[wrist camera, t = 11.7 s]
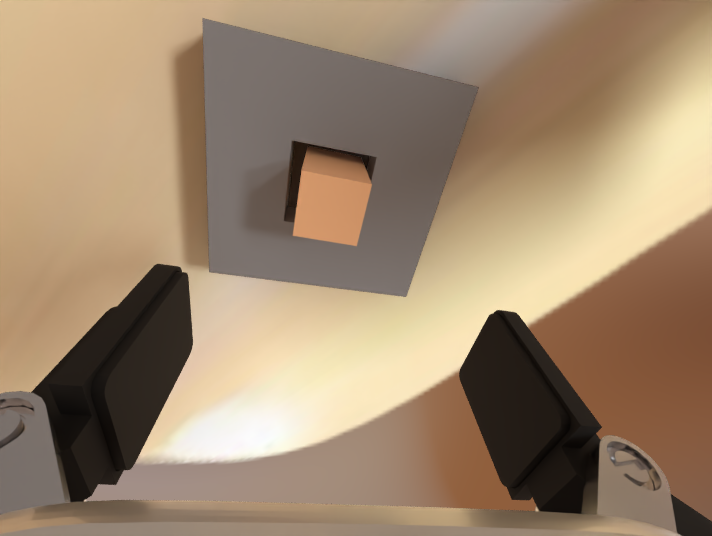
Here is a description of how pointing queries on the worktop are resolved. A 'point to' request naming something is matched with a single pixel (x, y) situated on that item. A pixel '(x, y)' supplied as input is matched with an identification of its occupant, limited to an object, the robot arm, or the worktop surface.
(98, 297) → the worktop surface
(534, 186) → the worktop surface
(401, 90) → the grey square hole board
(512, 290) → the worktop surface
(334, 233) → the orange rectangular block
